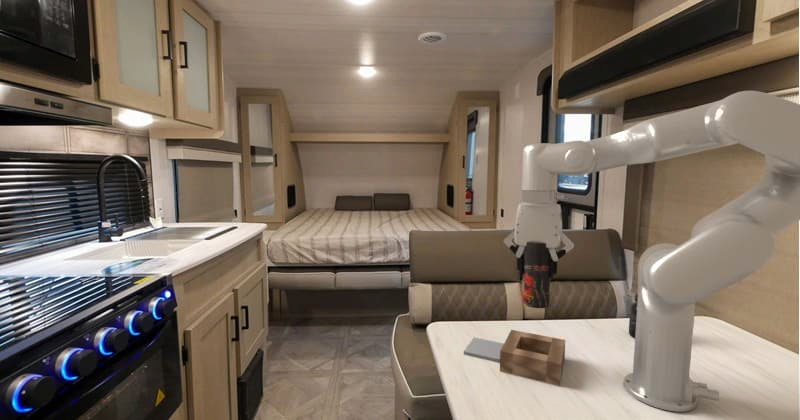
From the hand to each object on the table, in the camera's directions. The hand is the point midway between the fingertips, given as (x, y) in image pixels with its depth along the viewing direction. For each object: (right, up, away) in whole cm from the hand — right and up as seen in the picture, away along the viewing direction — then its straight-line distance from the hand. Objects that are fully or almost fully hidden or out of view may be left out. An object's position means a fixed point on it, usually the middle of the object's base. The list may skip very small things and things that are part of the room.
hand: (536, 274), depth 87 cm
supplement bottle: (+36, -21, +17) cm, 45 cm away
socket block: (0, -22, +2) cm, 22 cm away
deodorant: (0, -7, +1) cm, 7 cm away
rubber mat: (-10, -21, +10) cm, 26 cm away
